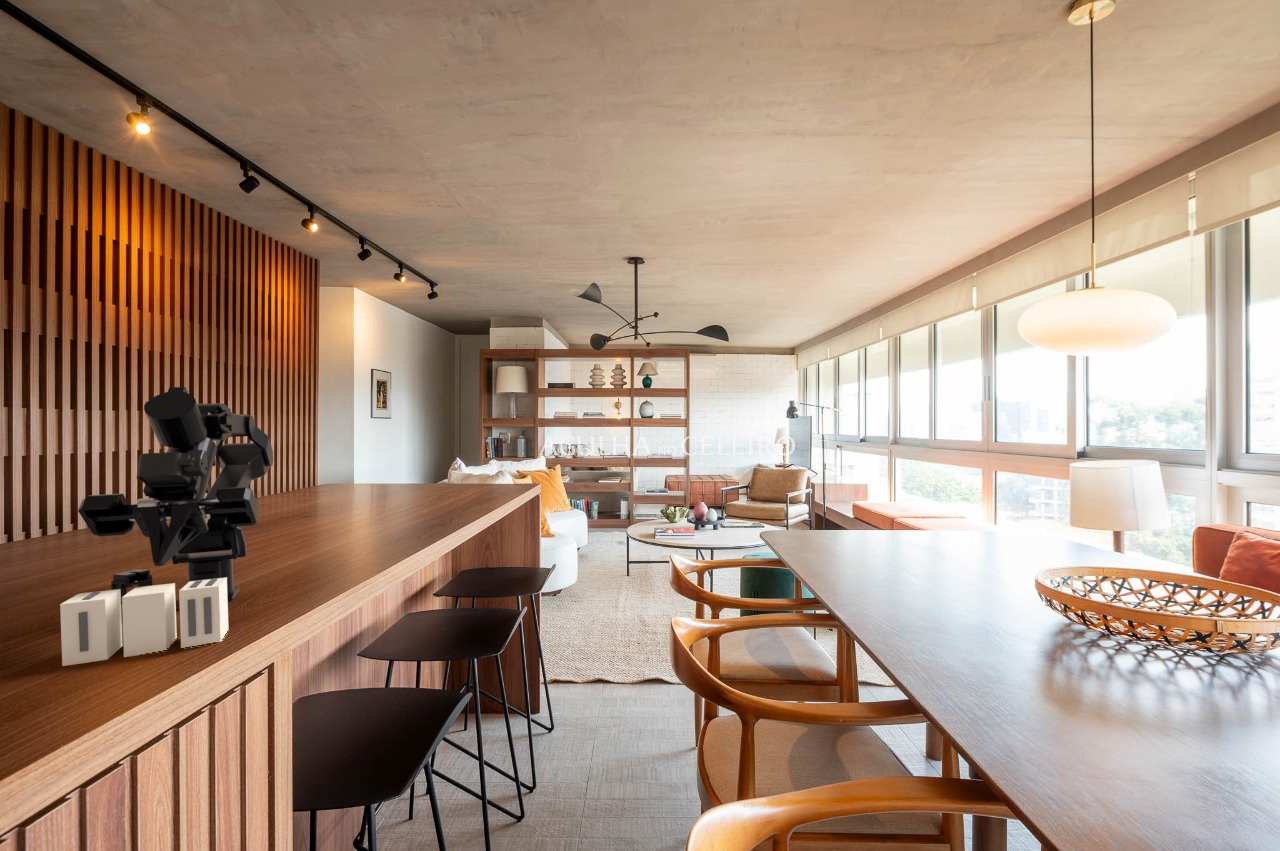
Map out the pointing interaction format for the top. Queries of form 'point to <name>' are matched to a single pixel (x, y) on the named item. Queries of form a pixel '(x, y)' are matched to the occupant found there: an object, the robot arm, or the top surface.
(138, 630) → the plain block
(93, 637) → the marked block one
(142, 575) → the black angular block
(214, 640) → the marked block two
